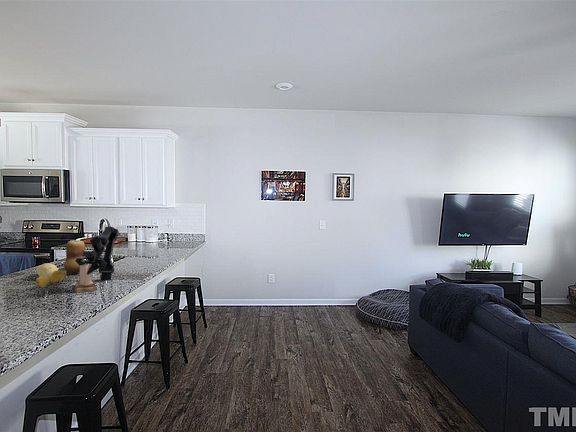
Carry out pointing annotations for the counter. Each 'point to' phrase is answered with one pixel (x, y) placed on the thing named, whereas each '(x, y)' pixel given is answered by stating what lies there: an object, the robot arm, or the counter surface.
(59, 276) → the decorative fish
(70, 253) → the butternut squash
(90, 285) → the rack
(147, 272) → the counter surface
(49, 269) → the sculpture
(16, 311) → the counter surface
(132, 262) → the counter surface
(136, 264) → the counter surface
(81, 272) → the clay bar
